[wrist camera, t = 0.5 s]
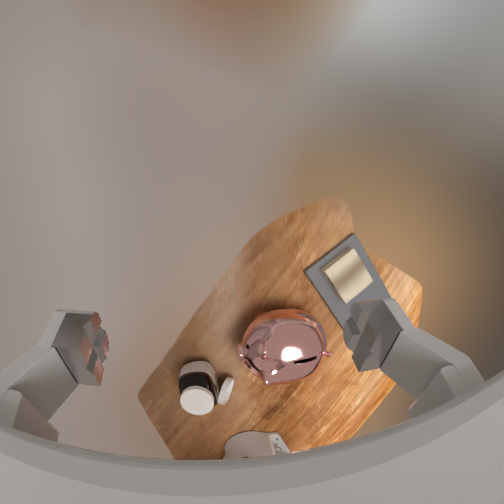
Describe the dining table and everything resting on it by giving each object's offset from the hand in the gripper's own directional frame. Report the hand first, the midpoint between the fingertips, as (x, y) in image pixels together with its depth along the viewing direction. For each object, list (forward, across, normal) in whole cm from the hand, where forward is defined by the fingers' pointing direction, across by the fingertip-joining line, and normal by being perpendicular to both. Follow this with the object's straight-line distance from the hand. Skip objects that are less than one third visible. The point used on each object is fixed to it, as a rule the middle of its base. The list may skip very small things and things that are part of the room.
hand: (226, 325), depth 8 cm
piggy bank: (+37, +13, -41) cm, 56 cm away
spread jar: (+33, -2, -51) cm, 61 cm away
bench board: (+38, +33, -35) cm, 61 cm away
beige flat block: (+40, +28, -28) cm, 56 cm away
